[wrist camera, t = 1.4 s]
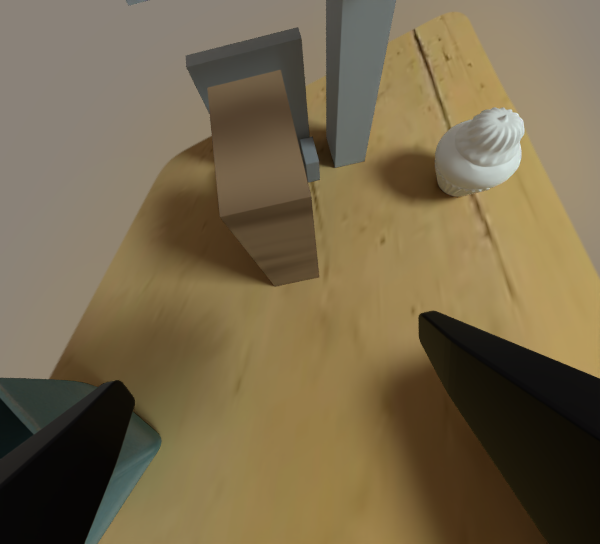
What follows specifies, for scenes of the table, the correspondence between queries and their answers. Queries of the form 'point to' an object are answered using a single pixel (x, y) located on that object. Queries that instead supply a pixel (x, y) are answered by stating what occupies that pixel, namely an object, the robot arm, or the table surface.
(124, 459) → the flower pot
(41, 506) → the robot arm
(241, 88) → the brown wooden block
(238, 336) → the table surface
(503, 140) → the muffin
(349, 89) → the grey gallows bracket
